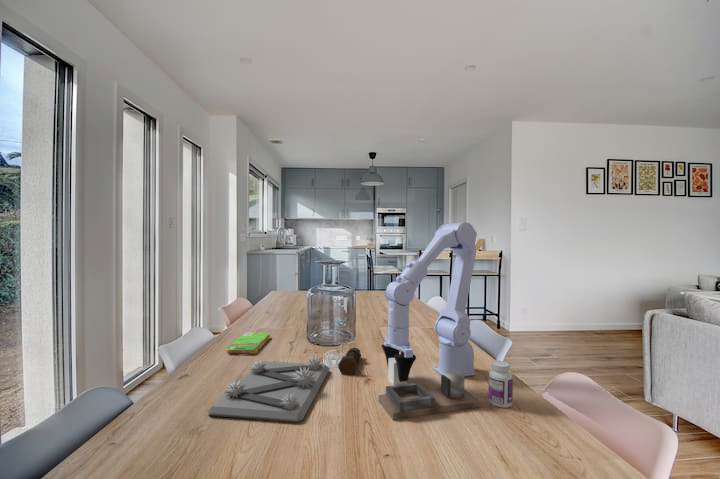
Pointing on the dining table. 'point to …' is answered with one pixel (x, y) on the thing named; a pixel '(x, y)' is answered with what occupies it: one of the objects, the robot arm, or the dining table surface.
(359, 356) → the bolt
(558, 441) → the dining table surface
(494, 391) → the pill bottle
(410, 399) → the brown board with socket
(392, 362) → the white block
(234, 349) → the game box
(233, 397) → the grey spiky zigzag board
